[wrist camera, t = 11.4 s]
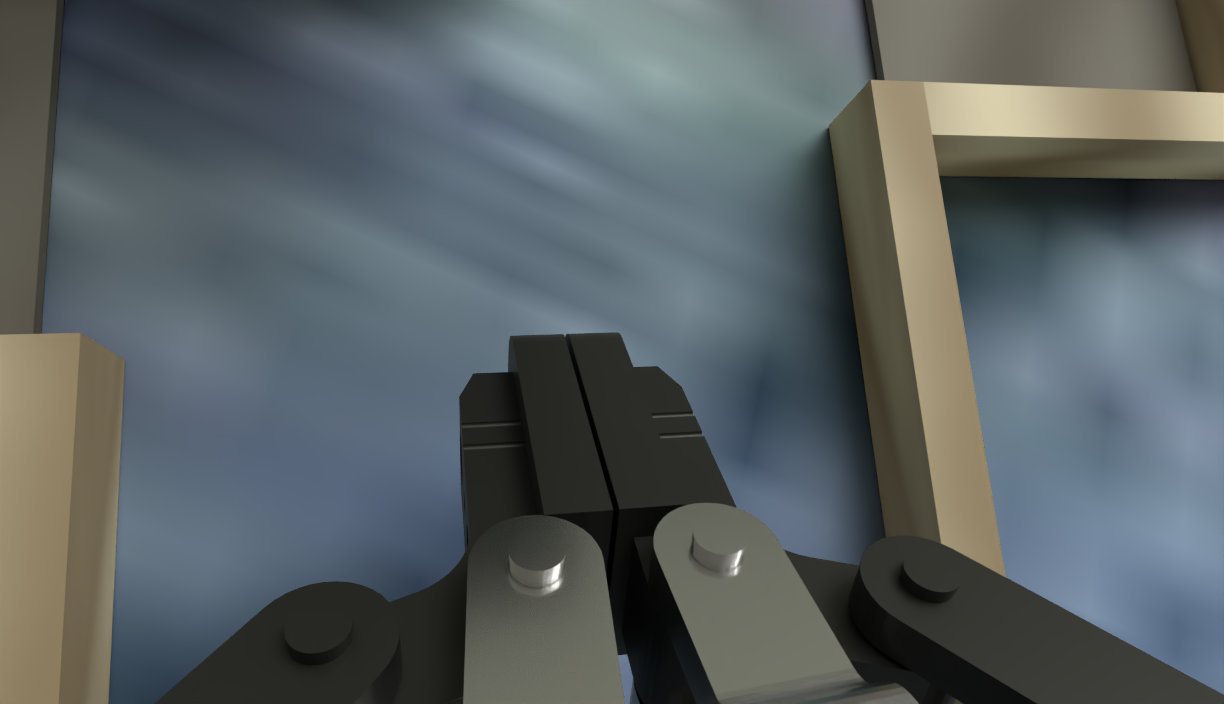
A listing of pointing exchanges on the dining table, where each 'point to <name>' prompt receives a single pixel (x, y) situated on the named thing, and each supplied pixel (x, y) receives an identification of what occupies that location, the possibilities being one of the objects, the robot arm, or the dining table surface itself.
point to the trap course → (874, 239)
